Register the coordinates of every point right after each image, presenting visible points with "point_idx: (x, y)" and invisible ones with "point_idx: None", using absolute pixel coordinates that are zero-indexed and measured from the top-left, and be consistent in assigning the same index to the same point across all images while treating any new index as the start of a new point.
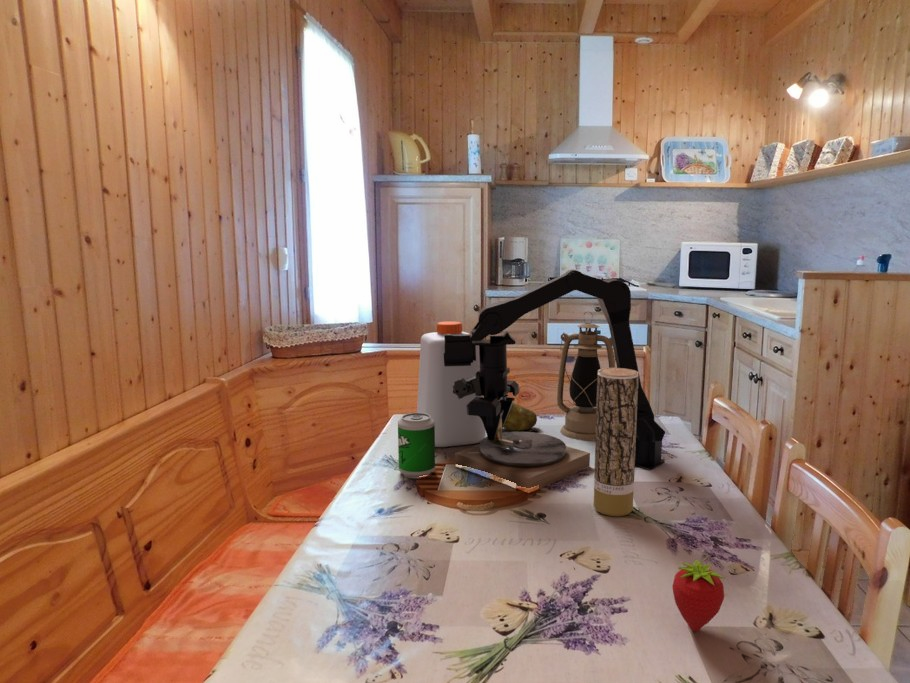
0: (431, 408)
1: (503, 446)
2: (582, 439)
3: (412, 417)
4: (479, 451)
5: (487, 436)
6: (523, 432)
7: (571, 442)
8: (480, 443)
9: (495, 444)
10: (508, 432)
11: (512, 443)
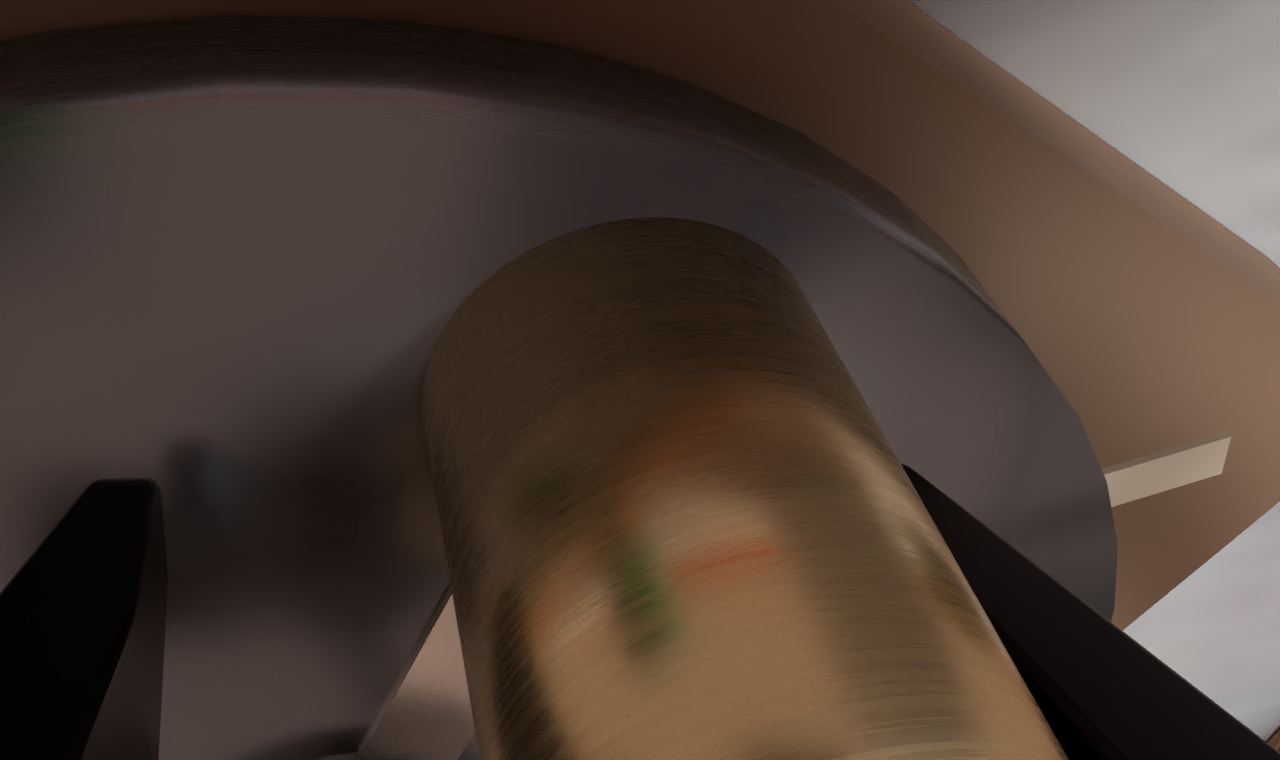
0: None
1: None
2: (1272, 743)
3: None
4: (51, 8)
5: (549, 301)
6: None
7: (1218, 697)
8: (19, 172)
9: None
10: (1086, 500)
11: (363, 740)
